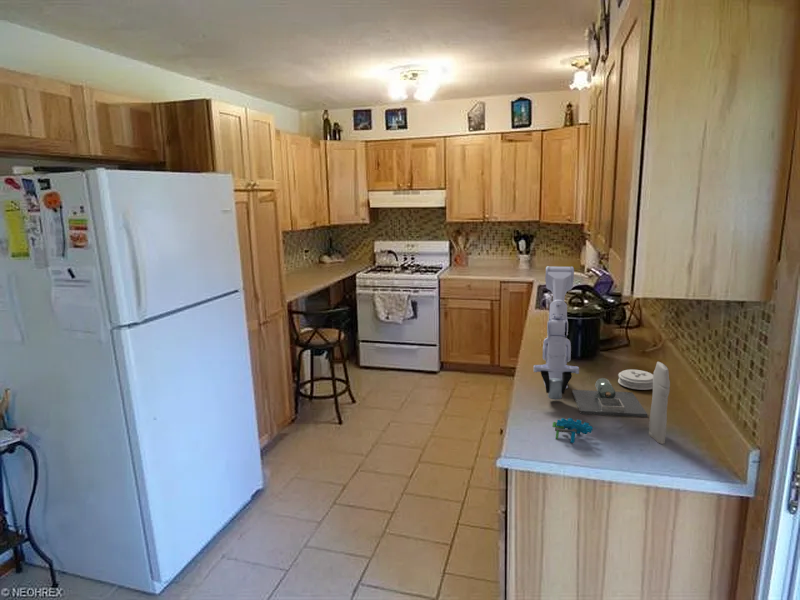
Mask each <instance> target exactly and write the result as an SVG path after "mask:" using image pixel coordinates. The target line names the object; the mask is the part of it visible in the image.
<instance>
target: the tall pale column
mask: <svg viewBox="0 0 800 600" xmlns="http://www.w3.org/2000/svg"><path fill="white" fill-rule="evenodd" d="M652 374H653V389H652V397H651V398H652V399H651V405H650V415H649V423H648V424H649V425H648V436H649V438H652V439H654V441H656V442H657V444H660V445H665V443H666V433H667V420H668V418H667V415H668V414H667V412H668V401H669V395H670V390H671V389H670V387H671V380H670V373H669V368H668V366H667V365H666V364H664V363H663V362H660V361H657V362H656V364H655V368H654V371H653V373H652Z"/></svg>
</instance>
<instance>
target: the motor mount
mask: <svg viewBox="0 0 800 600" xmlns="http://www.w3.org/2000/svg"><path fill="white" fill-rule="evenodd" d="M594 386H595V388H596V389H595V390H589V389H588V390H585V389H572V395H573V398H574V400H575V403H576V406H577V408H578V411H579V413H580V414H582V415H595V416H599V415H601V416H614V417H615V416H616V417H617V416H618V417H619V416H620V417H634V418H635V417H637V418H639V417H641V418H648V412H647V411H646V410H645V409H644V407H643V406H642V403H641V402H640V401H639V400H638V399H637V397H636V395H635V394H634V392H632V391H629V392H628V391H616V390H615V388H614V387H613V386H612V383H611V382H610V380H609V379H608V378H604V377H601V378H598V379H596V382H595V384H594Z"/></svg>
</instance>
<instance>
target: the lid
mask: <svg viewBox="0 0 800 600" xmlns="http://www.w3.org/2000/svg"><path fill="white" fill-rule="evenodd" d="M653 374H654V373H651V372H650V371H649V372H648V371H646V370H640V369H625V370H624V369H623V370H622V371H620V372H618V374H617V376H618V380H617V383H618V384H619V385H621V386H622V387H625V388H628V389H632V390H642V391H643V390H644V391H647V390H653Z"/></svg>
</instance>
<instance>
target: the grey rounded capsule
mask: <svg viewBox="0 0 800 600" xmlns="http://www.w3.org/2000/svg"><path fill="white" fill-rule="evenodd" d="M562 383H563V381H562V380H561V379H558V378H550V379H549V393H547V397H548V399H551V400H559V401H560V400H561V399H562V398H563V394H562Z"/></svg>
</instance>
